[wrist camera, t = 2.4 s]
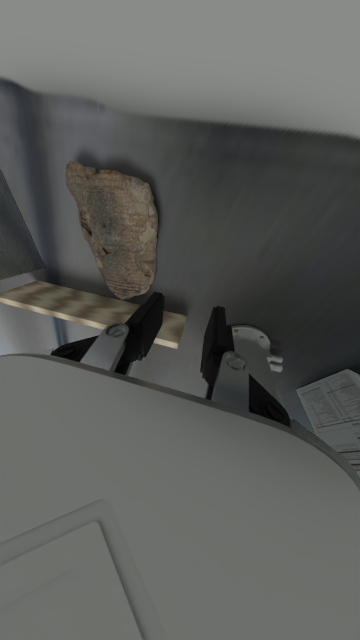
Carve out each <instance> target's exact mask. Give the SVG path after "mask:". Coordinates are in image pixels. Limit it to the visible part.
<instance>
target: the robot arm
mask: <svg viewBox="0 0 360 640" xmlns="http://www.w3.org/2000/svg"><path fill="white" fill-rule="evenodd" d="M163 311H164V296H163V295H162V293H158V292H154V293H153V295H152V296H151V297H150V298H149V299H148V300H147V302H146V303H145V304H144V305H141V306H140V307H139V308H138V309H137V310H136V311H135V312H134V313H133V314H132V316H131V317H130V318H129V319H128V320H127V321H126V322H125V323H124V324H123V323H113V324H110V325H108V326H107V327H105V328H104V330H103V331H102V332H101V334H100V335H98V336H94V337H91V338H87V339H83V340H79V341H76V342H72V343H68V344H65V345H62V346H60V347H59V348H57V349H56V350H55V351H54V350H53V349H48V350H41V351H35V352H28V353H21V354H8V355H1V356H0V640H360V477H359V475H358V474H357V472H356V470H355V469H354V468H353V466H352V465H351V464H350V463H349V462H348V461H347V460H346V459H345V458H344V457H343V456H342V455H341V454H339V453H338V452H337V451H336V450H334V449H333V448H332V447H330V446H329V445H328V444H327V443H325V442H324V441H323V440H321V439H320V438H319V437H318V436H316V435H315V434H314V433H312V432H311V431H310V430H309V429H307V428H306V427H305V426H303V425H302V424H301V423H300V422H298V421H297V420H296V419H294V418H293V419H291V418H289V416H288V413H287V412H286V409H285V407H284V404H283V401H282V398H281V395H280V393H279V390H278V387H277V384H276V381H275V379H274V376H273V373H272V370H273V371H277V372H281V371H282V368H283V367H282V365H281V364H279V363H282V361H283V358H282V357H280V356H276V355H272V354H271V353H270V341H269V339H268V337H267V335H266V334H265V333H264V332H263V331H261V330H260V329H258V328H255V327H252V326H247V325H236V326H227V325H226V318H225V308H224V307H220V306H217V307H214V308H213V311H212V314H211V317H210V320H209V323H208V326H207V329H206V332H205V335H204V343H203V352H202V360H201V369H200V372H201V373H203V377H202V378H204V379H205V380H206V382H207V383H208V386H207V390H206V394H205V398H201V397H198V396H194V395H191V394H188V393H184V392H181V391H177V390H174V389H171V388H167V387H164V386H160V385H157V384H154V383H150V382H147V381H143V380H140V379H136V378H133V377H129V376H128V375H129V372H130V369H131V367H132V364H133V361H136V360H140V361H141V360H142V358H143V357H146V355H147V353H148V352H149V350H150V348H151V346H152V344H153V342H154V340H155V338H156V336H157V334H158V332H159V330H160V329H161V327H162V324H163ZM271 360H272V361H275V362H270V361H271ZM276 362H279V363H276Z"/></svg>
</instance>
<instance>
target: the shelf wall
mask: <svg viewBox="0 0 360 640" xmlns="http://www.w3.org/2000/svg"><path fill="white" fill-rule="evenodd" d="M0 302H1V303H4V304H8V305H12V306H16V307H20V308H23V309H27V310H31V311H35V312H39V313H42V314H46V315H50V316H54V317H58V318H61V319H65V320H69V321H73V322H77V323H80V324H84V325H88V326H92V327H96V328H99V329H103V330H104V328H105V327H107V326H108V325H110V324H113V323H123V324H124V323H125V322H126V321H127V320H128V319H129V318H130V317H131V316H132V314H133V313H134V312H135V311H136V310H137V309H138V308H139V307H140V306H141V305H138V304H134V303H130V302H126V301H122V300H117V299H113V298H109V297H105V296H101V295H97V294H92V293H88V292H84V291H80V290H76V289H71V288H67V287H63V286H59V285H55V284H50V283H46V282H42V281H38V280H37V281H35V282H32V283H29V284H26V285H23V286H20V287H17V288H14V289H11V290H8V291H5V292H2V293H0ZM186 318H187V316H185V315H180V314H176V313H172V312H168V311H163V324H162V327H161V329H160V330H159V332H158V334H157V336H156V338H155V340H154V342H153V343H157V344H160V345H164V346H168V347H172V348H176V349H177V348H178V345H179V342H180V338H181V335H182V332H183V329H184V326H185V322H186Z"/></svg>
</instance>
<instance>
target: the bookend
mask: <svg viewBox="0 0 360 640" xmlns="http://www.w3.org/2000/svg"><path fill="white" fill-rule="evenodd" d="M41 268H45V265H44V263H43V261H42V259H41V257H40V255H39V252H38V250H37V248H36V246H35V244H34V242H33V239H32V237H31V235H30V233H29V231H28V229H27V226H26V224H25V222H24V220H23V218H22V215H21V213H20V211H19V209H18V207H17V205H16V202H15V200H14V198H13V196H12V194H11V192H10V189H9V187H8V185H7V183H6V181H5V179H4V176H3V174H2V172H1V170H0V280H2V279H6V278H9V277H13V276H16V275H20V274H24V273H27V272H31V271H34V270H38V269H41Z"/></svg>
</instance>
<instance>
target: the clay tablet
mask: <svg viewBox="0 0 360 640" xmlns="http://www.w3.org/2000/svg"><path fill="white" fill-rule="evenodd" d="M99 173H100V174H99ZM99 173H98V172H97V171H96V169H95V168H93V167H86V166H83V165H81V164H80V163H78V162H72V161H70V162H69V163H68V164H67V172H66V185H67V187H68V189H69V190H70V192H71V194H72V195H73V196H74V198H75V200H76V203H77V206H78V209H79V221H80V226H81V229H82V232H83V236H84V238H85V240H86V241H87V242H88V243H89V246H90V247H91V249H92V252H93V254H94V255H95V260H96V262H97V264H98V268H99V270H100V272H101V275H102V276H103V278H104V280H105V282H106V284H107V285H108V287H109V289H110V290H111V291H112V293H113V294H115V295H116V296H117V297H118V298H119V299H121V300H125V299H130V298H132V297H133V296H139V295H141V294H144V293H146V292H147V291H148V290H149V287H150V285H151V283H153V280H154V277H155V273H156V257H157V254H156V252H155V251H156V246H157V241H158V239H157V237H156V236H157V231H158V214H157V209H156V207H155V205H154V203H153V201H154V197H153V195H152V192H151V189H150V186H149V184H148V183H146V182H143V181H142V180H141V179H140V178H137V177H134V176H129V175H125V174H122V173H120V172H118V171H115V170H113V171H111V170H108V169H103V170H99Z"/></svg>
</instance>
